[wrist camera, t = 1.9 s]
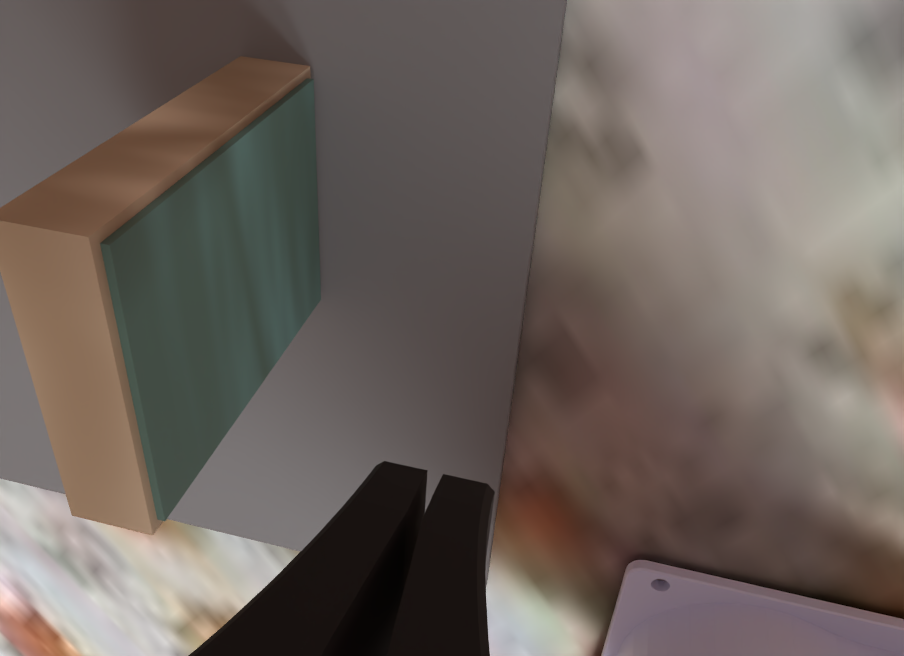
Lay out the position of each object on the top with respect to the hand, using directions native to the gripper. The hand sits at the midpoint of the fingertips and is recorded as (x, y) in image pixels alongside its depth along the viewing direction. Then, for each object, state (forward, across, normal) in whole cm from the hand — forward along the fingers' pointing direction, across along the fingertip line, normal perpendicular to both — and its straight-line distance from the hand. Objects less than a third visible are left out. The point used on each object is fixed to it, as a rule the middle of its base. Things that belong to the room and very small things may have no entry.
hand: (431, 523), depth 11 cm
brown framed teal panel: (+9, +6, 0) cm, 11 cm away
